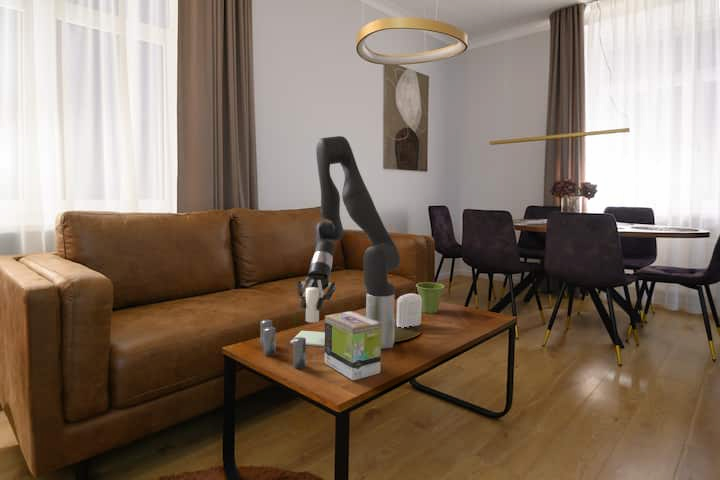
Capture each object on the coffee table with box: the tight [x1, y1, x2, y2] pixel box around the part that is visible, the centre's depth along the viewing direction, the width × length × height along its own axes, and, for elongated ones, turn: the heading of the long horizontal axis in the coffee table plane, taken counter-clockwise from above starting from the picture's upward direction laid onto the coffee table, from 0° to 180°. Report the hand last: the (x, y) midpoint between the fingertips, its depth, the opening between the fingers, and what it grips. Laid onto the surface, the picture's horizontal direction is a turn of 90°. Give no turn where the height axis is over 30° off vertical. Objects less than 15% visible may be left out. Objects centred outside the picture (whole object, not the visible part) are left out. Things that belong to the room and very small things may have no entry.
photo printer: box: [395, 293, 422, 329], centre depth 164 cm, size 10×4×12 cm, turn 123°
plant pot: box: [415, 282, 445, 314], centre depth 184 cm, size 12×12×11 cm
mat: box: [289, 330, 325, 347], centre depth 149 cm, size 12×12×1 cm
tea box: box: [324, 310, 382, 381], centre depth 124 cm, size 15×10×15 cm, turn 35°
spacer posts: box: [260, 319, 307, 370], centre depth 133 cm, size 28×18×8 cm, turn 79°
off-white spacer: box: [305, 287, 320, 323], centre depth 148 cm, size 4×4×11 cm
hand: (310, 308), depth 146 cm, fingers closed on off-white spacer, 4 cm apart
